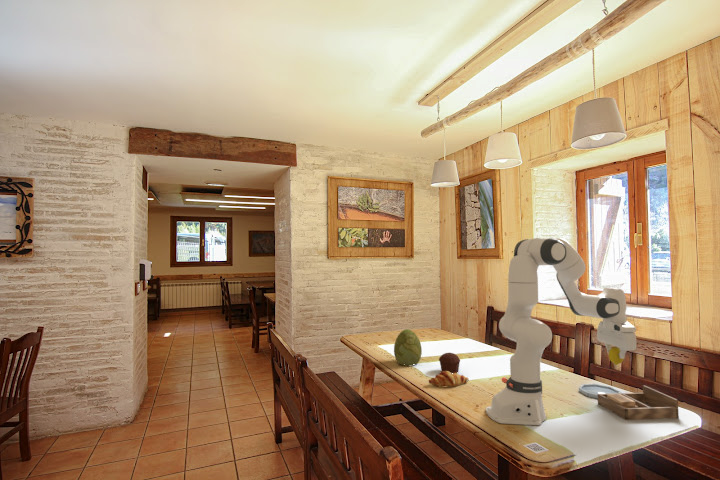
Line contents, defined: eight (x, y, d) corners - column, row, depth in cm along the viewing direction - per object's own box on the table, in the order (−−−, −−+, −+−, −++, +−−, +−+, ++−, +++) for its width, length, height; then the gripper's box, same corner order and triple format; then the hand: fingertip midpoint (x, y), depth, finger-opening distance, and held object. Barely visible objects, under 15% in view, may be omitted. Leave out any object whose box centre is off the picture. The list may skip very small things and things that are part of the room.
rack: (625, 419, 145) (625, 401, 145) (597, 403, 161) (597, 386, 161) (678, 418, 145) (677, 399, 146) (645, 401, 161) (644, 385, 162)
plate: (594, 400, 164) (594, 396, 164) (572, 387, 180) (572, 384, 180) (630, 399, 164) (630, 395, 164) (604, 386, 180) (604, 383, 180)
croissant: (465, 387, 192) (461, 371, 196) (474, 384, 183) (470, 367, 187) (426, 390, 187) (423, 374, 191) (434, 387, 179) (431, 369, 183)
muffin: (449, 367, 214) (449, 349, 215) (464, 372, 205) (464, 353, 206) (434, 371, 208) (434, 353, 208) (449, 376, 199) (449, 357, 199)
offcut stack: (623, 417, 148) (623, 403, 148) (606, 407, 157) (605, 394, 157) (639, 416, 148) (638, 402, 148) (621, 406, 157) (620, 393, 158)
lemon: (609, 362, 169) (609, 344, 169) (624, 364, 165) (624, 346, 166) (607, 365, 165) (607, 346, 165) (623, 367, 161) (622, 348, 161)
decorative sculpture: (393, 367, 217) (393, 332, 217) (394, 359, 233) (393, 326, 234) (422, 367, 215) (421, 332, 215) (421, 359, 231) (420, 326, 232)
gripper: (592, 320, 176) (593, 350, 175) (624, 328, 156) (625, 362, 155) (605, 320, 176) (606, 350, 176) (639, 328, 156) (640, 362, 155)
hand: (615, 356), depth 165 cm, fingers closed on lemon, 6 cm apart
